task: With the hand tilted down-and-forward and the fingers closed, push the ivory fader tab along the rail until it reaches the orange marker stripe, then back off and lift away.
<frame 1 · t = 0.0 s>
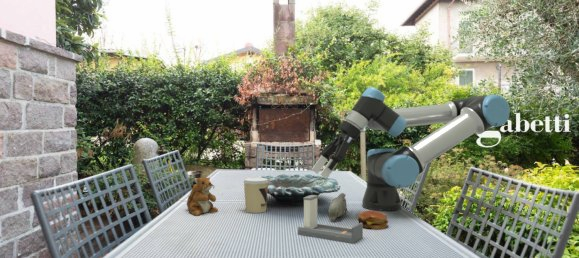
hand: (318, 174, 150), 15 cm above the table, tool tilted 35°, fingers open, 13 cm apart
burger: (372, 227, 139), on the table
fader rail: (329, 235, 126), on the table
decorative bird: (337, 217, 151), on the table
coffee cup: (256, 211, 160), on the table
fader tab: (310, 212, 130), point 6 cm above the table, slide at 0.0 cm
stuffed squirrel: (199, 212, 159), on the table
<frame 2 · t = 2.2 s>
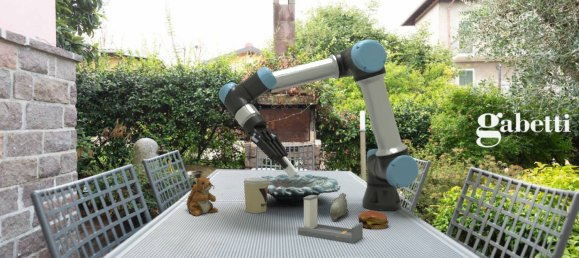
hand: (294, 175, 132), 17 cm above the table, tool tilted 45°, fingers closed
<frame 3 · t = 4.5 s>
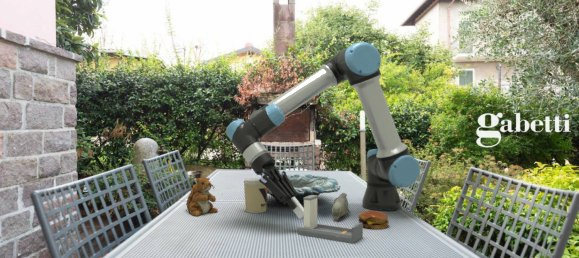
hand: (303, 216, 130), 5 cm above the table, tool tilted 45°, fingers closed
fader tab: (310, 212, 130), point 6 cm above the table, slide at 0.0 cm, touching gripper
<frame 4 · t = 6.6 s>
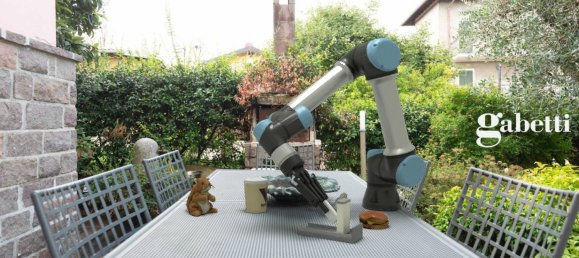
hand: (336, 220, 125), 5 cm above the table, tool tilted 45°, fingers closed
fader tab: (343, 216, 124), point 6 cm above the table, slide at 10.9 cm
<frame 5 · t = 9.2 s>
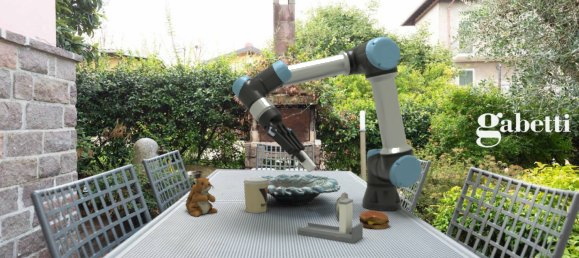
hand: (312, 169, 129), 20 cm above the table, tool tilted 45°, fingers closed
fader tab: (345, 216, 124), point 6 cm above the table, slide at 11.7 cm
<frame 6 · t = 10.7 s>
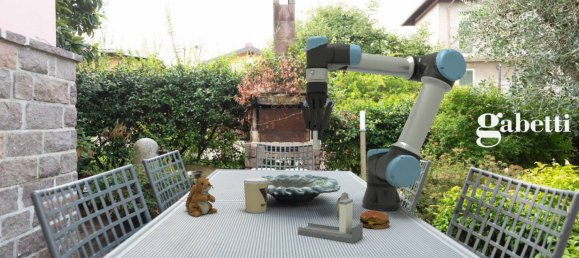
hand: (316, 149, 148), 24 cm above the table, tool pointing down, fingers closed
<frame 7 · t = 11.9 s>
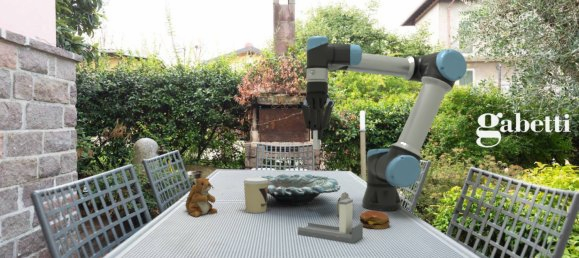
hand: (316, 148, 148), 24 cm above the table, tool pointing down, fingers closed
at the end: fader tab slide at 11.7 cm; the gripper is holding nothing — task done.
